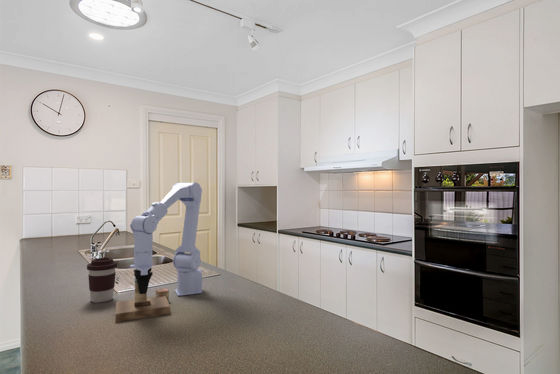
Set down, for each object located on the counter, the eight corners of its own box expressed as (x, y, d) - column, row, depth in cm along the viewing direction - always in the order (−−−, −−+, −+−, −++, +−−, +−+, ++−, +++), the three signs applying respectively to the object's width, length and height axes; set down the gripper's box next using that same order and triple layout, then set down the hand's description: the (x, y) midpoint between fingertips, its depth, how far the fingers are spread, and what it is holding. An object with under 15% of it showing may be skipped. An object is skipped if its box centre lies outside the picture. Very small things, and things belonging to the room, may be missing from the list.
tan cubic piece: (165, 299, 122) (165, 288, 122) (168, 301, 120) (168, 290, 120) (155, 301, 120) (155, 289, 120) (158, 303, 117) (159, 292, 117)
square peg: (146, 297, 111) (146, 276, 112) (146, 300, 108) (146, 279, 108) (134, 299, 110) (134, 278, 110) (135, 302, 107) (135, 280, 107)
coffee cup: (103, 305, 115) (104, 262, 115) (79, 303, 117) (80, 261, 117) (122, 296, 125) (123, 257, 125) (100, 294, 127) (100, 256, 127)
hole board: (165, 302, 118) (165, 295, 118) (169, 313, 107) (169, 306, 107) (116, 309, 111) (116, 301, 111) (115, 322, 100) (115, 313, 100)
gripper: (129, 248, 114) (129, 287, 114) (130, 256, 101) (130, 299, 101) (151, 247, 117) (150, 285, 117) (154, 254, 104) (154, 296, 104)
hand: (142, 291), depth 109 cm, fingers closed on square peg, 3 cm apart
